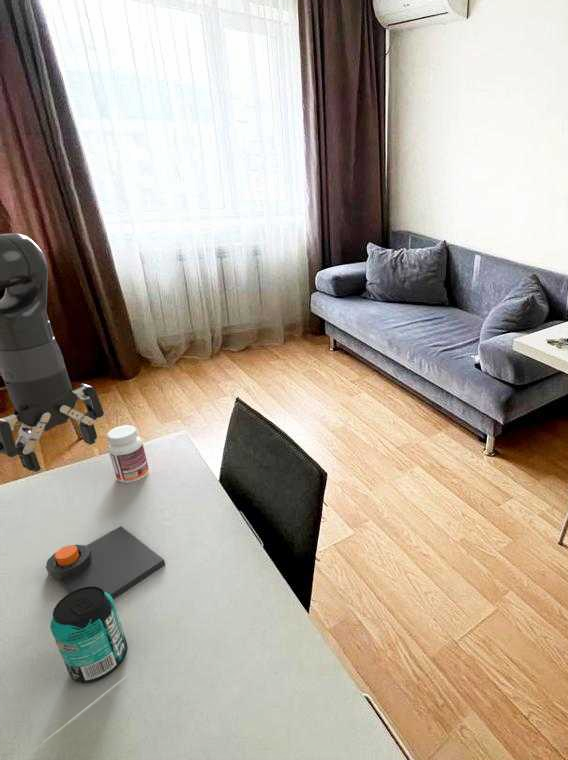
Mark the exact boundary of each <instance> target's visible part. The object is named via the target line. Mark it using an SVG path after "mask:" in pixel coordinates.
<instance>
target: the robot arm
mask: <svg viewBox="0 0 568 760" xmlns="http://www.w3.org/2000/svg"><path fill="white" fill-rule="evenodd" d="M47 263H48V262H47V260H46V257H45V255H44V253H43V251H42V250H41V248H40V246H38V245H37V243H36V242H34V241H33V240H32V239H31V238H30V237H28V236H27V235H24V234H21V233H14V232H13V233H11V232H10V233H9V232H8V233H2V234H0V291H1V290H4V289H5V291H4V294H3V296H2V298H1V299H0V374H1V376H2V379H3V382H4V384H5V388H6V390H7V393H8V395H9V398H10V401H11V403H12V405H13V409H14V410H13V413H12V414H10V415H8V416H4V417H1V418H0V453H1V454H4V455H5V456H6V457H9V458H15V457H16V456H18V457H19V460H20V463H21V465H22V466H21V467H23V468H24V469H25V470H27V471H30V472H34V473H37V472H39V471H41V470H42V468H41V465H40V462H39V460H38V457H37V455H36V454H37V453H36V452H35V451H34V450H33V449H34V447H35V444H36V443H37V441H39V440H40V438H41V436H42V434H43V432H48V431H50V430H52V429H53V428H55V427H56V426H60V425H64V424H66V423H67V422H68V420H70V418H71V419H73V420H75V421H76V422H77V421H78V422H79V423H78V424H77V425H78V427H79V431H80V434H81V437H82V440H83V442H84V443H85V444H87V445H90V446H92V445H94V444H96V440H97V439H98V433H97V431H96V427H95V424H94V423H95V421H96V420H97V419H98V418H102V417H104V414H105V413H104V409H103V407H102V404H101V401H100V399H99V396H98V392H97V390H96V388H95V387H94V386H92V385H89V384H86V383H81V384H79V385H78V388H76V389H74V390H73V389H72V388H73V387H72V383H71V379H70V376H69V374H68V370H67V367H66V364H65V358H64V356H63V354H62V351H61V348H60V346H59V344H58V342H57V340H56V338H55V335H54V332H53V328H52V325H51V322H50V319H49V315H48V312H47V305H48V280H49V279H48V278H49V276H48V275H49V274H48V273H49V272H48V265H47ZM78 398H79V399H80V400H82V401H83V403H84V406H85V408H86V411H87V412H85V413H82V412H80V411H78V410H76V409H75V406H76V404H77V401H78ZM17 422H19V423H21V425H20V427H19V429H18V432H17V438H16V441H15V438H14V435H13V432H12V431H15V426H16V423H17ZM31 429H32V430H31Z"/></svg>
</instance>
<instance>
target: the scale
mask: <svg viewBox="0 0 568 760" xmlns="http://www.w3.org/2000/svg"><path fill="white" fill-rule="evenodd" d="M73 545H74V546H76V547H77V550H78V553H79V558H78V560H77V561H76V562H74V563H72V564H70V565H67V566H59V565H58V563H57V561H56V558H55V554H56V552H54V553H53V554H52V555H51V556H50V557H49V558H48V559H47V560H46V565H45V569H46V571H47V574H48V575H49V576H50V578H52V579H54V580H55V582H57V583H58V584H59V585H60V586H61V587H62V588H63V589H64V590H65V591H66V592H67V593H68V594H69V593H71V592H73V591H75V590H78V589H80V588H84V587H89V586H95V587H99V588H101V589H102V590H103V591H104V592H106V593H108V594H109V595H110V596H111V597H112V599H113V601H115V599H117V598H118V597H120V596H121V595H123V594H124V593H126V592H128V591H129V590H130V589H132V588H133V587H134V586H136V585H138V584H139V583H141V582H142V581H145V579H147V578H148V577H149V576H152V575H153V574H154V573H155V572H157V571H159V570H160V569H162V568H163V567H165V566H166V561H165V559H164V558H163V557H162V556H160V555H159V554H158V553H157V552H155V551H154V550H153V549H151V548H150V547H149V546H147V544H145V543H144V542H142V541H141V540H140V539H138V538H137V537H136V536H135V535H134V534H132V533H131V532H129V531H128V530H127V529H126V528H125V527H123V526H122V525H120V526H118V527H117V528H115V529H113V530H111V531H109V532H108V533H106V534H104V535H102V536H101V537H99V538H97V539H95V540H93V541H92V542H90V543H88V544H73Z"/></svg>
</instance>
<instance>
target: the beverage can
mask: <svg viewBox="0 0 568 760" xmlns="http://www.w3.org/2000/svg"><path fill="white" fill-rule="evenodd" d="M49 628H50V632H51V634H52V636H53V638H54V641H55V644H56V646H57V648H58V650H59V654H60V655H61V658H62V661H63V663H64V665H65V668H66V670H67V672H68V675H69V677H70V678H71V679H72V681H74V682H76V683H80V684H89V683H93V682H97V681H99V680H102V679H104V678H106V677H107V676H109V675H110V674H111V673H113V672H114V671H115V670H117V668H118V667H119V666H120V665H121V664H122V663H123V661H124V659H125V658H126V656H127V653H128V649H129V646H128V641H127V638H126V636H125V633H124V629H123V627H122V622H121V620H120V616H119V613H118V611H117V607H116V604H115V600H113V599H112V597H111V596H110V595H109V594H108V593H106V592H104V591H103V590H102V589H101V588H99V587H95V586H89V587H84V588H80V589H78V590H75V591H73V592H71V593H68V594H67V595H65V596H64V597H62V598H61V599H60V600H59V601H58V603H56V604H55V607H54V608H53V611H52V617H51V620H50V627H49Z"/></svg>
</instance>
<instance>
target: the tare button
mask: <svg viewBox="0 0 568 760" xmlns="http://www.w3.org/2000/svg"><path fill="white" fill-rule="evenodd" d="M74 545H75V544H73V545H72V544H70V545H65V546H63V547H60V548H59V549H58V550H57V551H56V552H55V553H56V554H55V558H56V561H57V563H58V565H59V566H67V565H70V564H72V563H74V562H76V561H77V560H78V558H79V553H78V550H77V547H76V546H74Z"/></svg>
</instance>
